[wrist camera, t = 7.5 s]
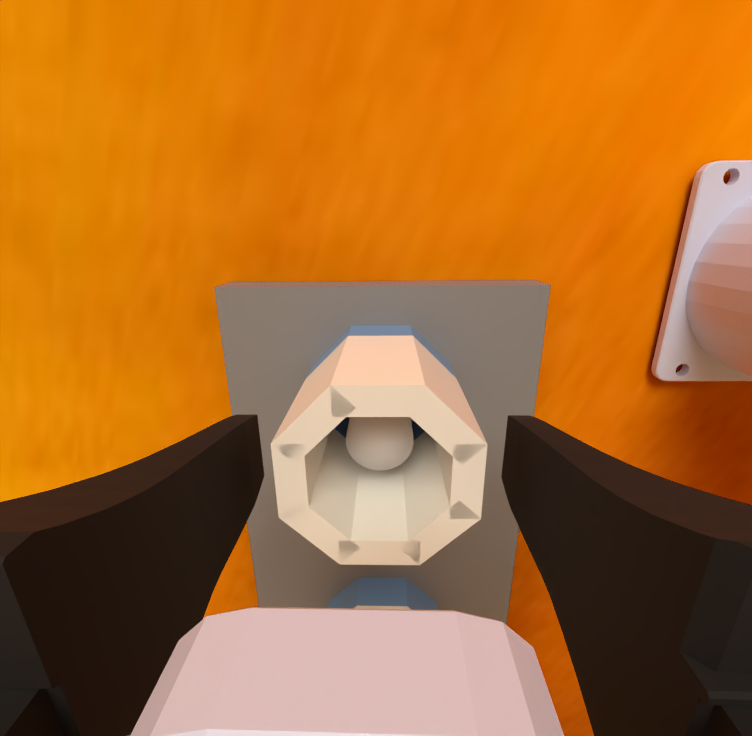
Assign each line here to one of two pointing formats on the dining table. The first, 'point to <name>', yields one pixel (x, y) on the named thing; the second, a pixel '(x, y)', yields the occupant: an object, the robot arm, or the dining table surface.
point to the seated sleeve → (382, 595)
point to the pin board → (481, 370)
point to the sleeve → (372, 487)
